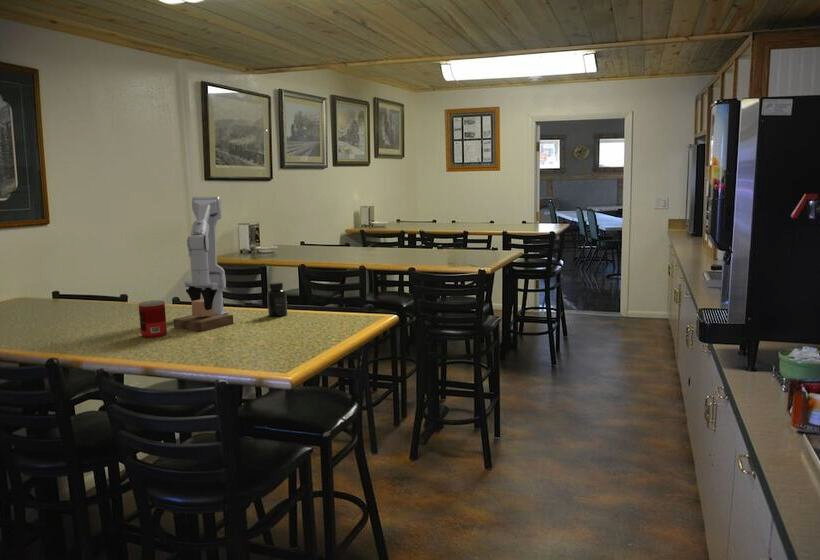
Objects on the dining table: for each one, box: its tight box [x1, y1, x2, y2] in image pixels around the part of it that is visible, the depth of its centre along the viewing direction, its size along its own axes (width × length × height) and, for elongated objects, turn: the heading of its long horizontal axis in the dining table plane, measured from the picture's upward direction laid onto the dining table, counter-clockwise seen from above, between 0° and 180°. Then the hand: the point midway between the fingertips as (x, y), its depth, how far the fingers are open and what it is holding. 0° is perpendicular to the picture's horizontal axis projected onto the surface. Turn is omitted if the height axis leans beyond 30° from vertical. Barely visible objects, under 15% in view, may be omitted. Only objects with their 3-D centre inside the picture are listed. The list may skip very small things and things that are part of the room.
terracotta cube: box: [190, 299, 214, 317], centre depth 232 cm, size 5×5×5 cm
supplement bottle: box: [266, 281, 288, 318], centre depth 247 cm, size 7×7×12 cm
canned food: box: [138, 299, 168, 339], centre depth 219 cm, size 8×8×11 cm
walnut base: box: [172, 313, 234, 332], centre depth 233 cm, size 14×14×3 cm
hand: (202, 308), depth 232 cm, fingers open, 5 cm apart
